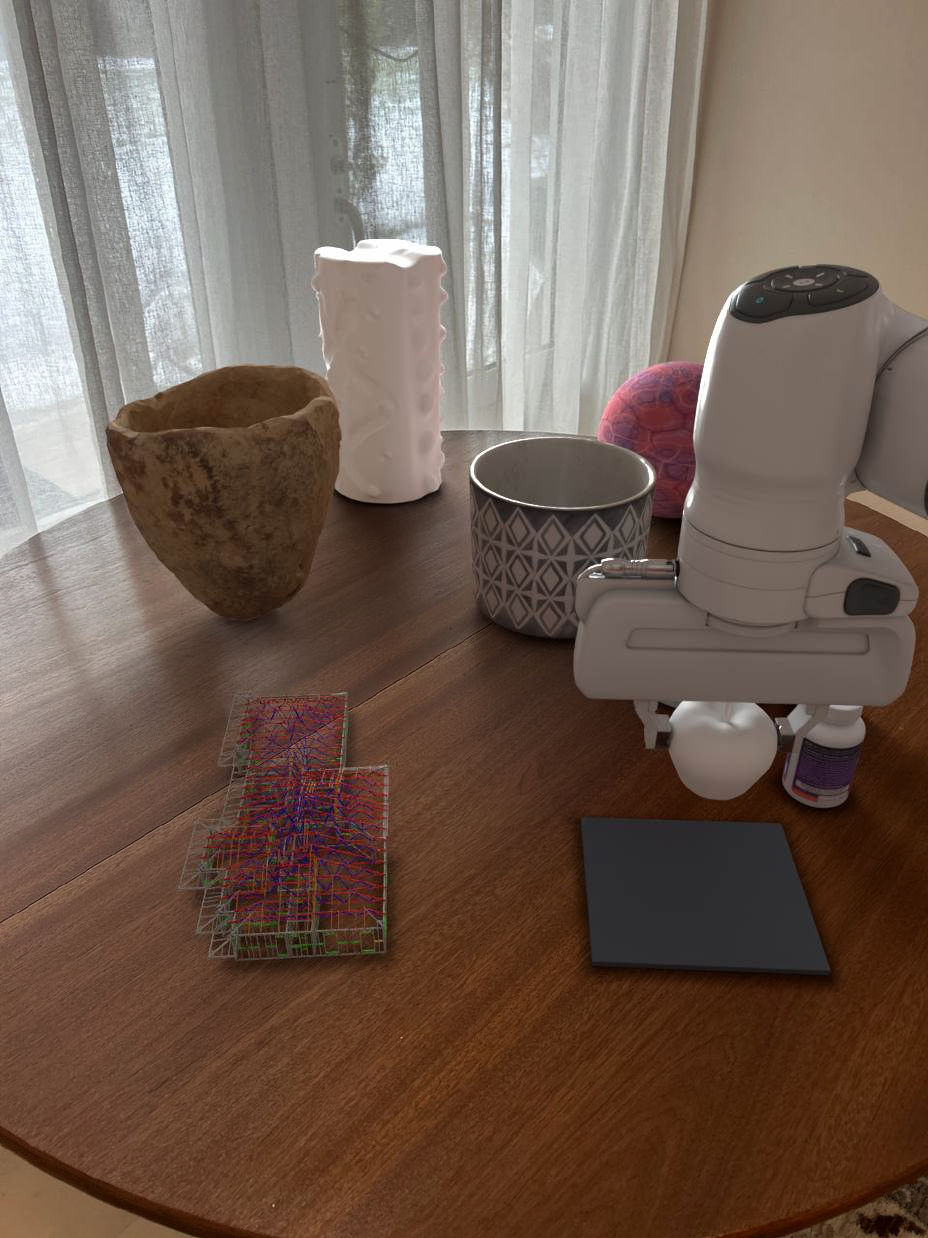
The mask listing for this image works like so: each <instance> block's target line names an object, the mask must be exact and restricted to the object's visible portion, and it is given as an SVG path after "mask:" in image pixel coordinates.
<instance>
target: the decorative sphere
mask: <svg viewBox="0 0 928 1238" xmlns="http://www.w3.org/2000/svg"><path fill="white" fill-rule="evenodd" d="M703 369H704V364H703V363H698V362H693V361H685V360H677V361H676V360H675V361H666V362H661V363H657V364H654V365H651V366H648V367H646V368H644V369H642V370H640V371H639V372H636V373H635V374H634V375H632V376H631V377H629V378H628V379H627V380H626V381H625V382H624V383H622V385H620V386H619V388H617V390H616V391H615V392H614V394H612V396H611V398H610V399H609V401H608V402H607V404H606V406H605V409H604V410H603V413H602V415H601V419H600V422H599V426H598V432H597V441H601V442H606V443H610V444H614V445H617V446H620V447H623V448H626V449H628V450H630V451H633V452H635V453H637V454H638V455H640V456H642V457H643V458H645V459H646V460H647V461H648V462H650V464H651V465H652V466H653V467H654V469H655V471H656V474H657V481H656V487H655V494H654V501H653V508H652V515H651V517H652V516H653V517H657V518H661V519H662V518H663V519H682V517H683V509H684V503H685V499H686V496H687V494H688V492H689V490H690V488H691V486H692V483H693V481H694V477H695V472H696V456H695V451H694V445H693V433H694V425H695V417H696V410H697V403H698V396H699V390H700V384H701V379H702V374H703Z"/></svg>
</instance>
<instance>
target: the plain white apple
mask: <svg viewBox="0 0 928 1238" xmlns="http://www.w3.org/2000/svg"><path fill="white" fill-rule="evenodd" d="M669 724H670V725H671V730H672V733H671V739H670V740H669V742H670V747H669V749H667V751H668V753H669V755H670V756H669V757H670V758H671V761H672V763H673V765H674V768H675V770H676V772H677V774H678V777H679V778H680V781H681V782H682V784H684V786H685V787H686V788H687V789H688V790H690V791H691V792H692V793H694V794H695V795H697V796H699V797H700V798H703V799H708V800H715V801H728V800H733V799H735V798H737V797H740V796H742V795H744V794H745V793H746V792H747V791H748V790H750V789H751V788H752V787H753V785H755V784H756V782H758V781H759V780H760V779H761V778H762V776H764V775H765V774H766V773H767V771H769V769H770V768H771V767H772V765H773V762H774V760H775V758H776V755H777V752H776V751H777V743H778V736H777V731H776V729H775V726H774V721H773V720H772V718H771V717H770V716H769V715H768V714H767V713H766V712H765V710H764V709H763V708H761V707H760V706H759V705H758V704H757V703H756V704H755V703H733V702H696V701H683V702H681V704H680V705H679V706H678V707H677V708H675V710H673V712H672V714H671V716H670V717H669Z"/></svg>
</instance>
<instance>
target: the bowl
mask: <svg viewBox="0 0 928 1238" xmlns="http://www.w3.org/2000/svg"><path fill="white" fill-rule="evenodd" d="M338 421H339V410H338V407H337V403H336V400H335V397H334V395H333V393H332V392H331V390H330V387H329V385H328V382H327V381H326V380H325V377H323V376H321V375H319V374H318V373H315V372H313V371H311V370H309V369H306V368H303V367H299V366H294V365H288V366H287V365H286V366H280V365H274V364H255V363H249V362H248V363H244V364H243V363H241V364H236V365H227V366H223V367H220V368H217V369H214V370H210V371H206V372H203V373H201V374H198V375H197V376H195V377H193V378H191V379H190V380H187V381H184V382H182V383H179V384H176V385H173V386H171V387H168V388H167V389H165V390H163V391H159V392H158V393H156V394H155V395H153V396H150V397H148V398H143V399H136V400H133V401H131V402H128V403H126V404H125V405H123V406H122V407H120V408H119V409H118V412H117V414H116V417H115V418H114V419H113V420H111V421H109V422H108V423H107V425H106V427H105V430H104V432H105V436H106V447H107V451H108V453H109V454H108V455H109V457H110V461H111V465H112V467H113V470H114V473H115V477H116V480H117V482H118V485H119V486H120V489H121V492H122V494H123V497H124V500H125V502H126V505H127V509H128V512H129V514H130V517H131V519H132V520H133V522H134V524H135V526H136V528H137V530H138V532H139V533H140V534H141V535H142V537H143V540H144V541H145V543H146V545H147V546H148V547H149V549H150V550H151V551H152V552H153V553H154V555H155V557H156V559H157V560H158V561H159V562H160V563H161V564H162V565H163V566H164V567H165V568H166V569H167V570H168V571H169V572H171V573H173V575H174V577H175V578H176V579H177V580H178V582H179V583H180V584H181V585H182V586H183V587H184V589H185V590H186V591H187V592H188V593H189V594H190V595H192V597H193V598H194V599H196V600H197V601H199V602H200V603H201V604H203V605H204V606H205V607H206V608H207V609H209V610H210V611H211V612H212V613H214V614H216V615H217V616H219V617H220V618H221V617H222V618H224V619H227V620H228V619H229V620H233V621H243V622H247V621H250V620H251V619H255V618H258V617H261V616H264V615H267V614H269V613H270V612H272V611H274V610H276V609H280V608H282V607H283V606H284V605H286V604H288V602H291V601H292V600H293V599H294V598H295V597H296V596H297V594H299V592H300V591H302V589H303V588H304V587H305V585H306V583H307V581H308V579H309V577H310V573H311V569H312V566H313V562H314V558H315V556H316V551H317V548H318V544H319V539H320V536H321V534H322V532H323V529H324V525H325V523H326V520H327V517H328V513H329V509H330V507H331V504H332V497H333V495H334V491H335V483H336V480H337V477H338V474H339V468H340V458H339V449H340V441H341V440H342V435H341V429H340V426H339V422H338Z"/></svg>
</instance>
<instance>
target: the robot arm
mask: <svg viewBox="0 0 928 1238" xmlns="http://www.w3.org/2000/svg"><path fill="white" fill-rule="evenodd" d="M703 365H704V369H703V374H702V379H701V384H700V390H699V396H698V403H697V410H696V417H695V425H694V433H693V445H694V451H695V456H696V472H695V477H694V481H693V483H692V486H691V488H690V490H689V492H688V494H687V496H686V499H685V503H684V509H683V517H682V518H681V527H680V534H679V541H678V549H677V557H676V558H674V559H671V558H645V559H644V560H641V561H640V560H632V561H631V560H624V559H619V558H610V559H604V560H602V561H601V565H596V566H592V567H590V568H588V569H586V570H585V571H583V572H582V573H581V574H580V575H579V577H578V579H577V580H576V583H575V586H574V601H573V608H574V612H575V614H576V616H577V617H578V619H579V620H580V622H579V626H578V631H577V636H576V638H575V644H574V651H573V677H574V683H575V686H576V687H577V689H578V690H579V691H580V692H581V693H582V695H584V696H585V697H586V698H588V699H591V700H617V701H618V700H619V701H620V700H621V701H623V700H624V701H633V705H634V710H635V713H636V715H637V716H638V718H639V719H640V720H641V722H642V724H643V725H644V729H643V731H644V732H643V733H644V736H643V737H644V744H645V749H646V750H668V749H669V747H670V742H669V740H670V739H671V733H672V730H671V725H670V724H669V720H670V717H669V714H663V713H662V714H661V713H660V714H658V713H656V711H657V710H658V707H659V701H696V702H733V703H756V704H772V705H773V704H777V705H782V704H783V705H796V704H799V705H798V706H797V705H796V706H795V708H794V709H793V710H792V711H791V712H790V713H789V714H788V715H787V717H774V720H773V724H774V726H775V729H776V731H777V736H778V743H777V751H776V753H786V754H787V753H799V752H800V749H801V745H802V741H803V737H804V735H806V734H807V733H808V732H809V731H811V730H812V729H813V728H814V727H815V726H816V725H817V724H818V723H820V722H821V721H822V720H823V719H824V718H825V717H826V716H827V714H828V710H829V706H830V705H848V706H863V707H887V706H889V705H890V704H892V703H893V702H895V701H896V700H897V699H898V698H900V697H901V696H902V695H903V694H904V692H905V691H906V688H907V685H908V681H909V678H910V674H911V671H912V666H913V661H914V655H915V648H916V647H915V646H916V636H917V635H916V629H915V625H914V623H913V621H912V620H911V618H910V617H909V615H910V614H911V613H913V611H914V609H915V608H916V606H917V603H918V600H919V595H920V591H919V590H920V589H919V588H918V586H917V583H916V581H915V580H914V578H913V575H912V574H911V573H910V571H909V569H908V568H907V567H906V565H905V564H904V562H903V561H902V559H900V557H899V556H898V555H897V554H896V553H895V551H894V550H892V548H891V547H890V546H889V545H888V544H887V543H886V542H885V541H884V540H882V538H880V537H878V536H876V535H874V534H871V533H869V532H868V533H867V532H864V531H863V530H858V529H855V528H851V527H850V526H849V527H848V526H845V522H846V515H845V514H846V512H845V503H844V502H845V500H846V499H847V497H849V496H850V495H852V494H855V493H859V492H865V491H868V492H869V493H871V494H873V495H874V496H877V497H879V498H881V499H883V500H885V501H888V502H889V503H891V504H893V505H895V506H897V507H900V508H901V509H903V510H906V511H907V512H909V513H912V514H914V515H916V516H918V517H920V518H921V519H923V520H926V521H928V319H926V318H924V317H921V316H919V315H917V314H915V313H912V312H910V311H908V310H906V309H904V308H903V307H901V306H899V305H898V304H896V303H894V302H893V300H891V299H890V298H888V297H887V296H886V295H885V294H884V292H883V288H882V285H881V283H880V281H879V280H878V279H877V278H876V277H875V276H873V275H872V274H871V273H870V272H867V271H865V270H862V269H859V268H854V267H851V266H848V265H847V266H846V265H841V264H831V263H830V264H828V263H817V264H811V265H791V266H783V267H780V268H775V269H771V270H769V271H765V272H762V273H760V274H758V275H756V276H754V277H752V278H750V279H749V280H747V281H745V282H743V283H742V284H740V285H739V286H737V287H736V288H735V289H734V290H733V291H732V292H731V294H730V295H729V296H728V298H727V300H726V301H725V303H724V305H723V307H722V309H721V311H720V314H719V316H718V318H717V321H716V323H715V325H714V329H713V332H712V335H711V338H710V341H709V345H708V347H707V352H706V355H705V359H704V364H703ZM599 571H601V573H595V572H599Z"/></svg>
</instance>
